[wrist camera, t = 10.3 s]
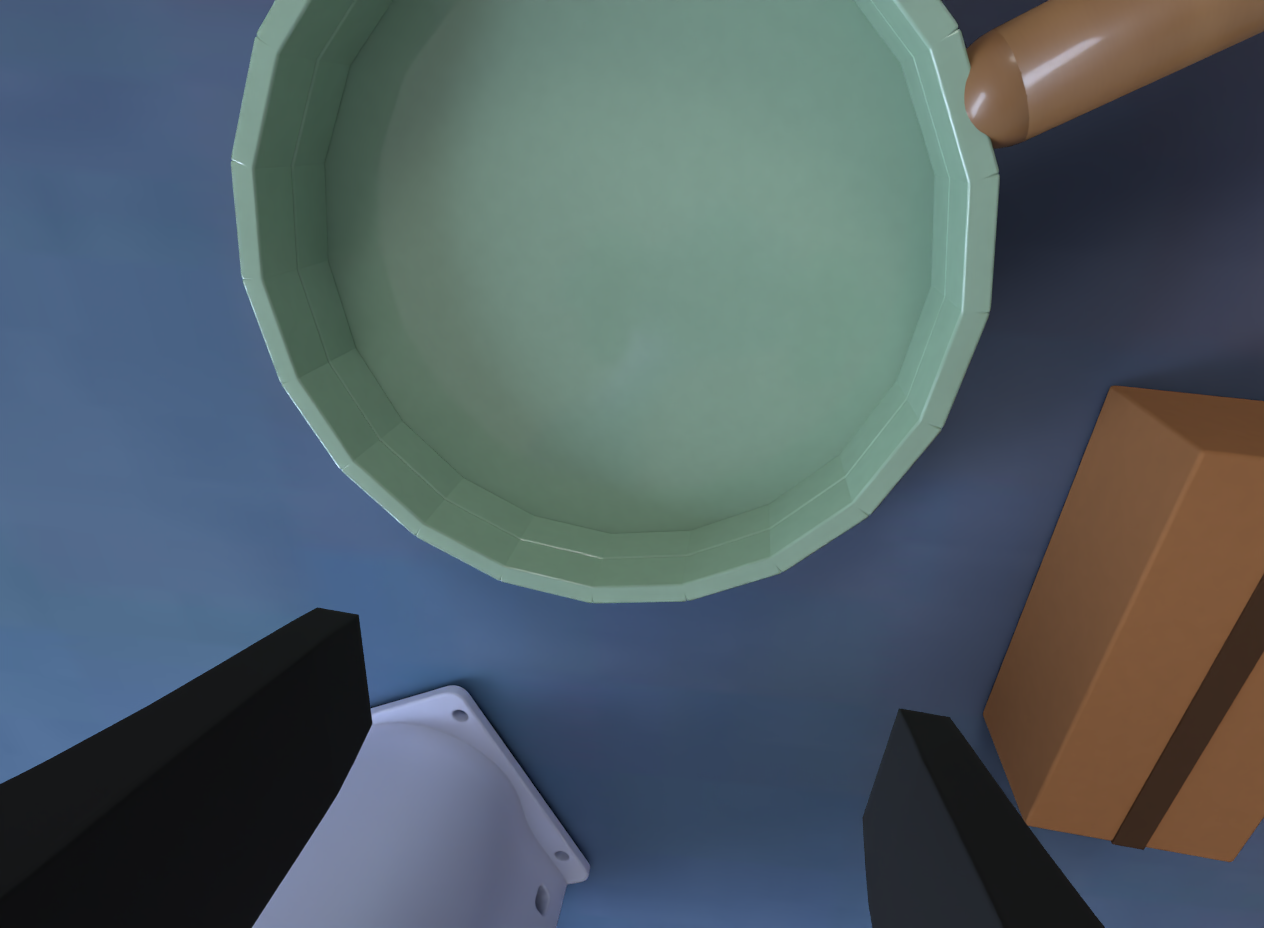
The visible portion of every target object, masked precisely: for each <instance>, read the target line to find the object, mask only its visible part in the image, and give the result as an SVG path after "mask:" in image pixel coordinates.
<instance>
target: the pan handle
mask: <svg viewBox="0 0 1264 928" xmlns="http://www.w3.org/2000/svg"><path fill="white" fill-rule="evenodd" d="M1263 31H1264V0H1049V1H1047V2H1045V3H1043V4H1041V5H1039V6H1037V7H1035V8H1033V9H1031V10H1029V11H1027V12H1025V13H1023V14H1021V15H1019V16H1018V17H1016V18H1014V19H1012V20H1010V21H1008V22H1006V23H1004V24H1002V25H1000V26H998V27H996V28H994V29H992V30H990V31H989V32H987V33H986V34H984V35H982V36H981V37H979V38H978V39H977V40H976V41H975V42H974V43H972V44H971V45H970V46H969V47H968V48H967V49H966V50H967V54H968V58H969V61H970V66H971V69H970V72H969V76H968V78H967V81H966V85H965V93H964V104H965V109H966V113H967V115H968V117H969V119H970V121H971V122H972V123H973V125H974V126H975V127H976V128H977V129H978V130H979V131H980V132H982V133H984V134H986V135H987V136H989V137H990V139H991V142H992V145H993V149H998V148H1004V147H1009V146H1013V145H1015V144H1018V143H1021V142H1024V141H1026V140H1028V139H1030V138H1032V137H1035V136H1037V135H1039V134H1041V133H1043V132H1045V131H1048V130H1050V129H1052V128H1054V127H1056V126H1058V125H1061V124H1063V123H1065V122H1067V121H1069V120H1072V119H1074V118H1076V117H1078V116H1080V115H1082V114H1085V113H1087V112H1089V111H1091V110H1093V109H1095V108H1098V107H1100V106H1102V105H1104V104H1106V103H1109V102H1111V101H1113V100H1115V99H1117V98H1119V97H1122V96H1124V95H1126V94H1128V93H1130V92H1133V91H1135V90H1137V89H1139V88H1141V87H1143V86H1146V85H1148V84H1150V83H1152V82H1154V81H1156V80H1159V79H1161V78H1163V77H1165V76H1167V75H1170V74H1172V73H1174V72H1176V71H1178V70H1180V69H1183V68H1185V67H1187V66H1189V65H1191V64H1194V63H1196V62H1198V61H1200V60H1202V59H1204V58H1207V57H1209V56H1211V55H1213V54H1215V53H1217V52H1220V51H1222V50H1224V49H1226V48H1228V47H1231V46H1233V45H1235V44H1237V43H1239V42H1241V41H1244V40H1246V39H1248V38H1250V37H1252V36H1254V35H1257V34H1259V33H1261V32H1263Z"/></svg>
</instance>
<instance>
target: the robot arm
mask: <svg viewBox="0 0 1264 928" xmlns="http://www.w3.org/2000/svg"><path fill="white" fill-rule="evenodd" d="M461 710H462V711H464V712H462V711H461ZM862 819H863V835H864V851H865V867H866V879H867V891H868V903H869V910H870V916H871V922H872V927H873V928H1105V927H1104V926H1103V925H1102V923H1101V922H1100V921H1099V920H1098V918H1097V917H1096V916H1095V914H1094V913H1093V912H1092V911H1091V909H1090V908H1089V907H1088V905H1087V904H1086V903H1085V901H1084V900H1083V899H1082V897H1081V896H1080V895H1079V893H1078V892H1077V891H1076V889H1075V888H1074V887H1073V886H1072V884H1071V883H1070V882H1069V880H1068V879H1067V878H1066V876H1065V875H1064V874H1063V872H1062V871H1061V870H1060V868H1059V867H1058V866H1057V865H1056V863H1055V862H1054V861H1053V859H1052V858H1051V857H1050V855H1049V854H1048V853H1047V851H1046V850H1045V849H1044V847H1043V846H1042V845H1041V843H1040V842H1039V840H1038V839H1037V838H1036V836H1035V835H1034V834H1033V832H1032V831H1031V830H1030V828H1029V827H1028V826H1027V824H1026V823H1025V821H1024V820H1023V819H1022V817H1021V816H1020V814H1019V813H1018V812H1017V810H1016V809H1015V808H1014V806H1013V805H1012V803H1011V802H1010V801H1009V799H1008V798H1007V796H1006V795H1005V794H1004V792H1003V791H1002V789H1001V788H1000V787H999V785H998V784H997V782H996V781H995V780H994V778H993V777H992V775H991V774H990V773H989V771H988V770H987V768H986V767H985V766H984V764H983V763H982V761H981V760H980V759H979V757H978V756H977V754H976V753H975V752H974V750H973V749H972V747H971V746H970V745H969V743H968V742H967V740H966V739H965V738H964V736H963V735H962V733H961V732H960V731H959V729H958V728H957V727H956V725H955V724H954V722H953V721H952V720H951V718H950V717H946V716H940V715H934V714H928V713H923V712H917V711H911V710H905V709H899V710H898V713H897V716H896V719H895V722H894V725H893V728H892V731H891V734H890V737H889V740H888V743H887V746H886V749H885V752H884V755H883V758H882V761H881V764H880V767H879V770H878V773H877V776H876V779H875V782H874V785H873V788H872V791H871V794H870V797H869V800H868V803H867V806H866V809H865V812H864V815H863V818H862ZM589 871H590V865H589V863H588V861H587V860H586V858H585V857H584V856H583V854H582V853H581V851H580V850H579V849H578V847H577V846H576V844H575V843H574V841H573V840H572V839H571V837H570V836H569V834H568V833H567V832H566V830H565V829H564V827H563V826H562V825H561V823H560V822H559V820H558V819H557V817H556V816H555V815H554V813H553V812H552V810H551V809H550V808H549V806H548V805H547V803H546V802H545V800H544V799H543V798H542V796H541V795H540V793H539V792H538V791H537V789H536V788H535V786H534V785H533V783H532V782H531V781H530V779H529V778H528V776H527V775H526V774H525V772H524V771H523V769H522V768H521V767H520V765H519V764H518V762H517V761H516V759H515V758H514V757H513V755H512V754H511V752H510V751H509V750H508V748H507V747H506V745H505V744H504V742H503V741H502V740H501V738H500V737H499V735H498V734H497V733H496V731H495V730H494V728H493V727H492V725H491V724H490V723H489V721H488V720H487V718H486V717H485V716H484V714H483V713H482V711H481V710H480V709H479V707H478V706H477V704H476V703H475V701H474V700H473V699H472V697H471V696H470V694H469V693H468V692H467V691H466V690H465V689H464V688H462V687H460V686H456V685H451V686H446V687H442V688H439V689H436V690H432V691H429V692H425V693H422V694H419V695H415V696H412V697H408V698H405V699H401V700H398V701H395V702H391V703H388V704H384V705H381V706H378V707H374V708H371V709H370V701H369V693H368V685H367V677H366V669H365V662H364V654H363V646H362V638H361V630H360V623H359V615H357V614H351V613H345V612H340V611H334V610H328V609H322V608H316V609H314V610H312V611H310V612H308V613H306V614H305V615H303V616H301V617H299V618H297V619H296V620H294V621H292V622H290V623H289V624H287V625H285V626H283V627H282V628H280V629H278V630H276V631H275V632H273V633H271V634H270V635H268V636H266V637H265V638H263V639H261V640H260V641H258V642H256V643H254V644H253V645H251V646H249V647H248V648H246V649H244V650H243V651H241V652H239V653H238V654H236V655H234V656H233V657H231V658H229V659H228V660H226V661H224V662H222V663H221V664H219V665H217V666H216V667H214V668H212V669H211V670H209V671H207V672H205V673H204V674H202V675H200V676H198V677H197V678H195V679H193V680H192V681H190V682H188V683H186V684H185V685H183V686H181V687H180V688H178V689H176V690H174V691H173V692H171V693H169V694H168V695H166V696H164V697H162V698H161V699H159V700H157V701H156V702H154V703H152V704H150V705H149V706H147V707H145V708H143V709H141V710H140V711H138V712H136V713H134V714H132V715H130V716H128V717H127V718H125V719H123V720H121V721H119V722H117V723H116V724H114V725H112V726H110V727H108V728H106V729H104V730H103V731H101V732H99V733H97V734H95V735H93V736H91V737H90V738H88V739H86V740H84V741H82V742H80V743H79V744H77V745H75V746H73V747H71V748H69V749H67V750H66V751H64V752H62V753H60V754H58V755H56V756H55V757H53V758H51V759H49V760H47V761H45V762H43V763H41V764H39V765H37V766H36V767H34V768H32V769H30V770H28V771H26V772H24V773H22V774H20V775H18V776H16V777H14V778H12V779H10V780H8V781H6V782H4V783H2V784H0V928H556V926H557V922H558V918H559V914H560V910H561V906H562V902H563V898H564V894H565V890H566V886H567V884H572V883H578V882H582V881H585V880H586V879H587V878H588V875H589Z"/></svg>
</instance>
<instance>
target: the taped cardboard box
mask: <svg viewBox="0 0 1264 928" xmlns="http://www.w3.org/2000/svg"><path fill="white" fill-rule="evenodd" d="M983 716H984V719H985V722H986V724H987V727H988V729H989V732H990V735H991V737H992V740H993V742H994V745H995V748H996V750H997V753H998V755H999V758H1000V761H1001V763H1002V766H1003V768H1004V771H1005V774H1006V776H1007V779H1008V781H1009V784H1010V787H1011V789H1012V792H1013V794H1014V797H1015V800H1016V802H1017V805H1018V807H1019V810H1020V813H1021V815H1022V818H1023V820H1024V821H1025V823H1026V824H1027V825H1028V826H1032V827H1038V828H1044V829H1049V830H1055V831H1060V832H1066V833H1071V834H1077V835H1082V836H1088V837H1093V838H1099V839H1104V840H1110V841H1111V842H1112V844H1115V845H1120V846H1126V847H1131V848H1137V849H1142V850H1144V849H1145V847H1149V848H1154V849H1160V850H1165V851H1171V852H1176V853H1182V854H1188V855H1193V856H1199V857H1204V858H1210V859H1215V860H1221V861H1226V862H1232V861H1233V860H1234V859H1235V857H1236V856H1237V855H1238V853H1239V852H1240V850H1241V849H1242V847H1243V846H1244V845H1245V843H1246V842H1247V840H1248V839H1249V838H1250V836H1251V835H1252V833H1253V832H1254V830H1255V829H1256V828H1257V826H1258V825H1259V823H1260V822H1261V820H1262V819H1263V818H1264V401H1257V400H1248V399H1238V398H1229V397H1219V396H1210V395H1200V394H1191V393H1181V392H1172V391H1162V390H1153V389H1143V388H1134V387H1124V386H1111V387H1110V389H1109V392H1108V394H1107V397H1106V399H1105V402H1104V405H1103V407H1102V410H1101V412H1100V415H1099V417H1098V420H1097V422H1096V425H1095V428H1094V430H1093V433H1092V435H1091V438H1090V440H1089V443H1088V446H1087V448H1086V451H1085V453H1084V456H1083V458H1082V461H1081V463H1080V466H1079V469H1078V471H1077V474H1076V476H1075V479H1074V481H1073V484H1072V486H1071V489H1070V492H1069V494H1068V497H1067V499H1066V502H1065V504H1064V507H1063V509H1062V512H1061V515H1060V517H1059V520H1058V522H1057V525H1056V527H1055V530H1054V533H1053V535H1052V538H1051V540H1050V543H1049V545H1048V548H1047V550H1046V553H1045V556H1044V558H1043V561H1042V563H1041V566H1040V568H1039V571H1038V573H1037V576H1036V579H1035V581H1034V584H1033V586H1032V589H1031V591H1030V594H1029V596H1028V599H1027V602H1026V604H1025V607H1024V609H1023V612H1022V614H1021V617H1020V620H1019V622H1018V625H1017V627H1016V630H1015V632H1014V635H1013V637H1012V640H1011V643H1010V645H1009V648H1008V650H1007V653H1006V655H1005V658H1004V660H1003V663H1002V666H1001V668H1000V671H999V673H998V676H997V678H996V681H995V684H994V686H993V689H992V691H991V694H990V696H989V699H988V701H987V704H986V707H985V709H984V712H983Z"/></svg>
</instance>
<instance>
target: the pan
mask: <svg viewBox="0 0 1264 928" xmlns="http://www.w3.org/2000/svg"><path fill="white" fill-rule="evenodd" d="M970 69H971V66H970V61H969V58H968V54H967V50H966V47H965V43H964V39H963V36H962V32H961V30H960V29H958V23H957V22H956V21H955V19H954V18H953V16H952V15H951V14H950V12H949V11H948V9H947V8H946V7H945V5H944V4H943V2H942V1H941V0H275V2H274V4H273V5H272V7H271V9H270V11H269V12H268V14H267V16H266V18H265V19H264V21H263V23H262V25H261V26H260V28H259V30H258V32H257V37H255V40H254V45H253V50H252V55H251V60H250V65H249V70H248V75H247V80H246V85H245V90H244V95H243V100H242V105H241V111H240V116H239V121H238V126H237V131H236V136H235V141H234V146H233V151H232V156H231V158H232V160H233V161H231V170H232V180H233V191H234V202H235V212H236V223H237V234H238V244H239V255H240V266H241V276H242V278H243V284H244V286H245V289H246V292H247V294H248V297H249V300H250V303H251V305H252V308H253V311H254V313H255V316H256V319H257V321H258V324H259V327H260V329H261V332H262V335H263V337H264V340H265V343H266V345H267V348H268V351H269V354H270V356H271V359H272V362H273V364H274V367H275V370H276V372H277V375H278V378H279V380H280V382H281V383H282V386H283V388H284V389H285V391H286V392H287V393H288V395H289V396H290V398H291V399H292V401H293V402H294V404H295V405H296V407H297V408H298V409H299V411H300V412H301V414H302V415H303V417H304V418H305V420H306V421H307V422H308V424H309V425H310V427H311V428H312V430H313V431H314V433H315V434H316V435H317V437H318V438H319V440H320V441H321V443H322V444H323V446H324V447H325V449H326V450H327V451H328V453H329V454H330V456H331V457H332V459H333V460H334V462H335V463H336V464H337V466H338V467H339V469H342V472H343V473H344V474H345V475H347V476H348V477H349V478H350V479H351V480H352V481H353V482H355V483H356V484H357V485H358V486H359V487H360V488H361V489H362V490H364V491H365V492H366V493H367V494H368V495H369V496H370V497H371V498H373V499H374V500H375V501H376V502H377V503H378V504H379V505H380V506H382V507H383V508H384V509H385V510H386V511H387V512H388V513H389V514H391V515H392V516H393V517H394V518H395V519H396V520H397V521H398V522H400V523H401V524H402V525H403V526H404V527H405V528H406V529H407V530H409V531H410V532H411V533H412V534H413V535H416V537H417V538H419V539H421V540H423V541H425V542H427V543H429V544H430V545H432V546H434V547H436V548H438V549H440V550H442V551H444V552H446V553H448V554H449V555H451V556H453V557H455V558H457V559H459V560H461V561H463V562H465V563H467V564H468V565H470V566H472V567H474V568H476V569H478V570H480V571H482V572H484V573H486V574H487V575H489V576H491V577H493V578H495V579H497V580H501V581H502V582H505V583H509V584H513V585H518V586H522V587H526V588H530V589H534V590H538V591H542V592H547V593H551V594H555V595H559V596H563V597H567V598H571V599H575V600H580V601H584V602H588V603H592V602H593V603H638V602H685V601H687V600H688V601H691V600H694V599H697V598H701V597H704V596H707V595H711V594H714V593H717V592H721V591H724V590H727V589H731V588H734V587H737V586H741V585H744V584H747V583H751V582H754V581H757V580H761V579H764V578H767V577H771V576H774V575H777V574H780V573H781V572H784V571H786V570H788V569H789V568H791V567H792V566H794V565H795V564H797V563H798V562H800V561H801V560H803V559H804V558H806V557H808V556H809V555H811V554H812V553H814V552H815V551H817V550H818V549H820V548H821V547H823V546H824V545H826V544H828V543H829V542H831V541H832V540H834V539H835V538H837V537H838V536H840V535H841V534H843V533H844V532H846V531H848V530H849V529H851V528H852V527H854V526H855V525H857V524H858V523H860V522H861V521H863V520H865V519H866V518H867V517H868V516H869V515H871V514H872V513H873V512H874V510H875V509H876V508H877V507H878V506H879V504H880V503H881V502H882V501H883V500H884V498H885V497H886V496H887V495H888V494H889V492H890V491H891V490H892V489H893V488H894V486H895V485H896V484H897V483H898V482H899V480H900V479H901V478H902V477H903V476H904V475H905V473H906V472H907V471H908V470H909V469H910V467H911V466H912V465H913V464H914V463H915V461H916V460H917V459H918V458H919V457H920V455H921V454H922V453H923V452H924V451H925V449H926V448H927V447H928V446H929V445H930V443H931V442H932V441H933V440H934V439H935V438H936V436H937V435H938V434H939V433H940V432H941V428H943V427H944V425H945V422H946V420H947V417H948V415H949V412H950V410H951V408H952V405H953V403H954V400H955V398H956V395H957V393H958V391H959V388H960V386H961V383H962V381H963V378H964V376H965V373H966V371H967V369H968V366H969V364H970V361H971V359H972V356H973V354H974V351H975V349H976V347H977V344H978V342H979V339H980V337H981V334H982V332H983V329H984V327H985V325H986V322H987V320H988V317H989V312H990V310H991V301H992V287H993V272H994V257H995V243H996V228H997V214H998V199H999V185H1000V175H999V174H998V173H999V167H998V164H997V160H996V156H995V153H994V149H993V145H992V142H991V139H990V137H989V136H987V135H986V134H984V133H982V132H980V131H979V130H978V129H977V128H976V127H975V126H974V125H973V123H972V122H971V121H970V119H969V117H968V115H967V113H966V109H965V104H964V93H965V85H966V81H967V78H968V76H969V72H970Z"/></svg>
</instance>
